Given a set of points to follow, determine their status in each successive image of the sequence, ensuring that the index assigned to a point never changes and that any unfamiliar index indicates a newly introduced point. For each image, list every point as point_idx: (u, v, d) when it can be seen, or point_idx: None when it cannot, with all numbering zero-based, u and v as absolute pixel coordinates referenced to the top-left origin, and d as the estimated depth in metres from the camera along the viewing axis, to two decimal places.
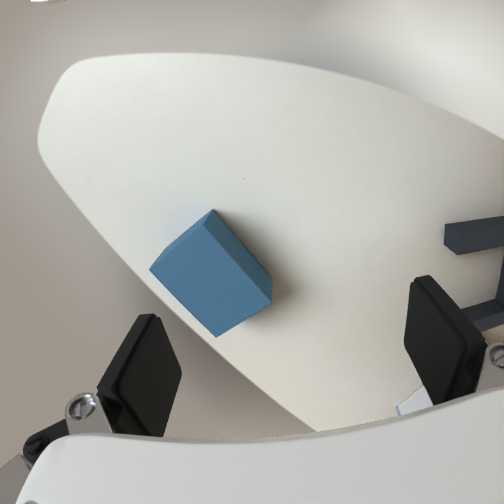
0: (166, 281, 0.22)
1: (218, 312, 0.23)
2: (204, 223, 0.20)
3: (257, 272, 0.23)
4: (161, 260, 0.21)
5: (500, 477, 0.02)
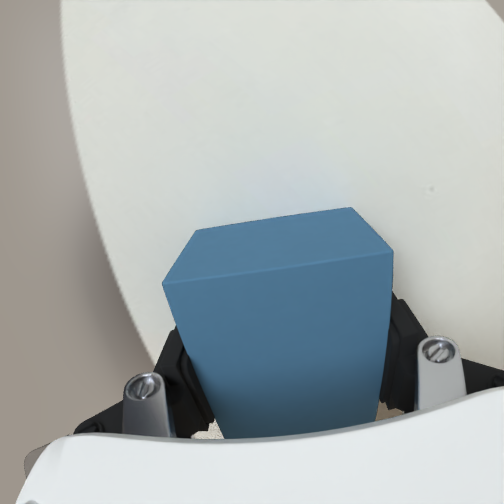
0: (194, 332, 0.08)
1: (271, 423, 0.09)
2: (388, 247, 0.07)
3: None
4: (216, 280, 0.07)
5: (500, 477, 0.02)
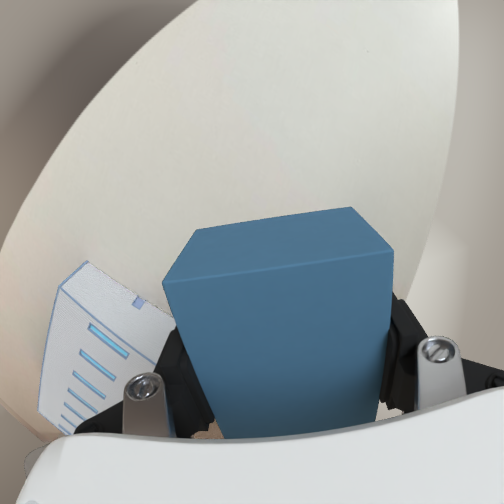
0: (194, 331, 0.08)
1: (271, 423, 0.09)
2: (389, 247, 0.07)
3: None
4: (216, 279, 0.07)
5: (500, 477, 0.02)
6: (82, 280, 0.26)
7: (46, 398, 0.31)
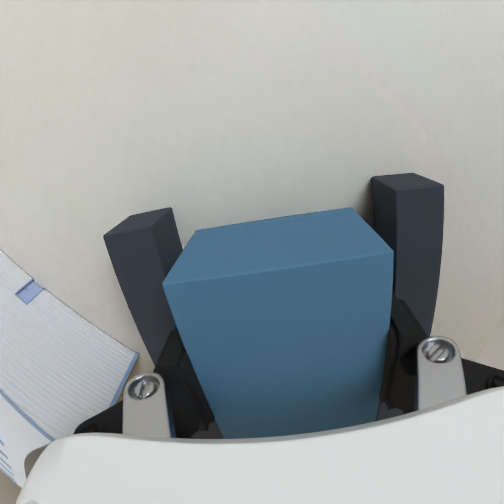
0: (194, 332, 0.08)
1: (271, 424, 0.09)
2: (389, 248, 0.07)
3: None
4: (216, 280, 0.07)
5: (500, 477, 0.02)
6: None
7: None
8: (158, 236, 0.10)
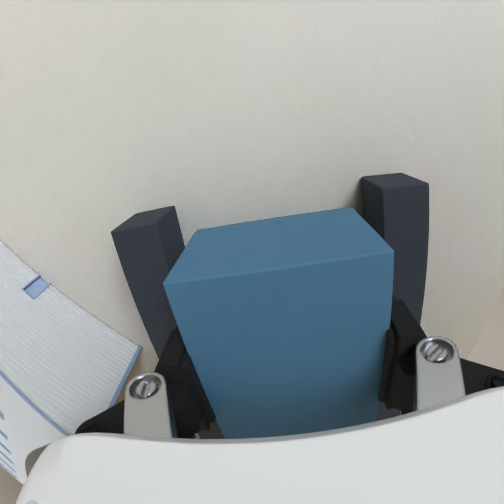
0: (195, 332, 0.08)
1: (271, 423, 0.09)
2: (389, 247, 0.07)
3: None
4: (217, 280, 0.07)
5: (500, 477, 0.02)
6: None
7: None
8: (163, 232, 0.11)
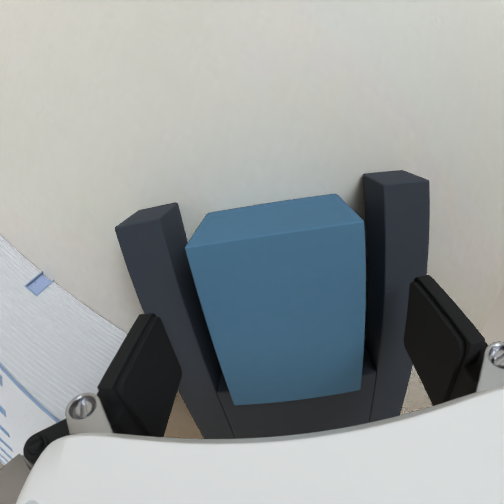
0: (209, 288, 0.10)
1: (271, 376, 0.11)
2: None
3: None
4: (227, 243, 0.09)
5: (500, 477, 0.02)
6: None
7: None
8: (166, 228, 0.11)
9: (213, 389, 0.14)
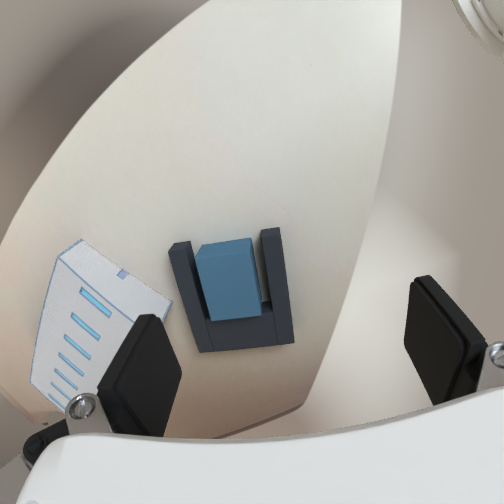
0: (202, 272, 0.31)
1: (224, 306, 0.32)
2: (249, 250, 0.30)
3: (259, 291, 0.34)
4: (208, 258, 0.30)
5: (500, 477, 0.02)
6: (77, 254, 0.32)
7: (39, 366, 0.36)
8: (187, 252, 0.32)
9: (203, 318, 0.35)
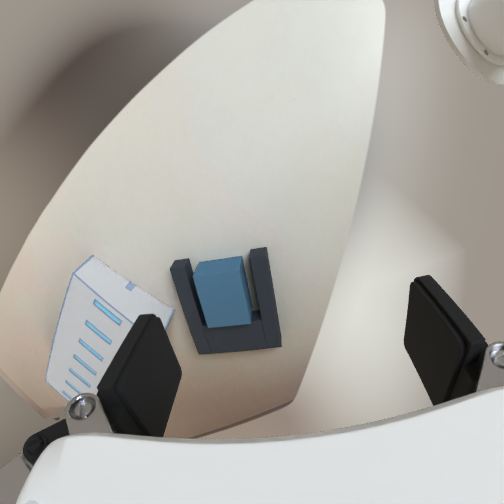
0: (199, 287, 0.36)
1: (219, 315, 0.37)
2: (239, 269, 0.35)
3: (249, 302, 0.39)
4: (203, 275, 0.35)
5: (500, 477, 0.02)
6: (89, 269, 0.37)
7: (54, 366, 0.42)
8: (186, 269, 0.37)
9: (201, 324, 0.40)
